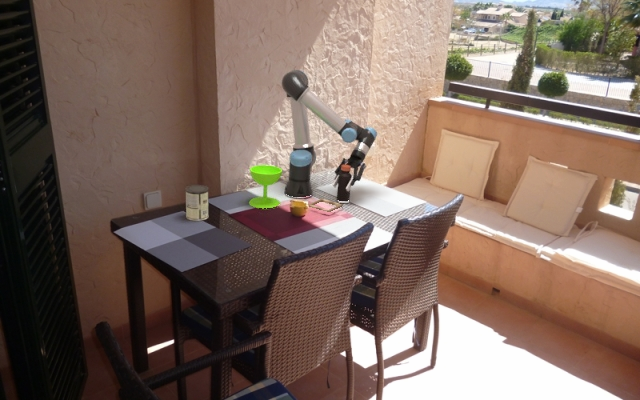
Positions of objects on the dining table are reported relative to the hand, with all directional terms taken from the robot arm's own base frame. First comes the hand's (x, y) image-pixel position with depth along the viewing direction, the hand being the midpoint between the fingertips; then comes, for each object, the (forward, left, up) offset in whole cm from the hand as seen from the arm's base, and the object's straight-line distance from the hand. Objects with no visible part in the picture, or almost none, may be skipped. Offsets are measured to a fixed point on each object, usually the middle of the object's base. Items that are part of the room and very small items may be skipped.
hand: (340, 188), depth 267 cm
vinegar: (0, +3, -9) cm, 9 cm away
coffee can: (-39, -64, -9) cm, 75 cm away
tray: (-1, -13, -9) cm, 15 cm away
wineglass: (-28, -28, -9) cm, 40 cm away
